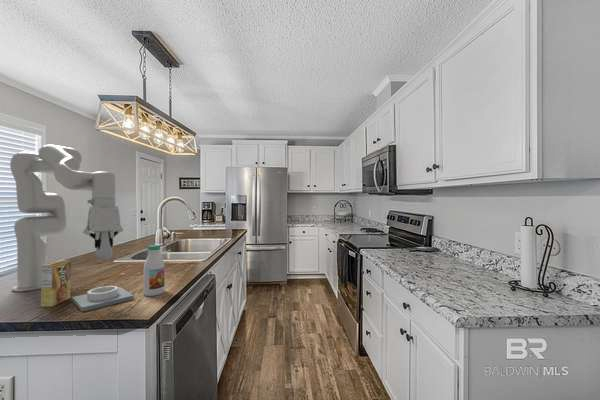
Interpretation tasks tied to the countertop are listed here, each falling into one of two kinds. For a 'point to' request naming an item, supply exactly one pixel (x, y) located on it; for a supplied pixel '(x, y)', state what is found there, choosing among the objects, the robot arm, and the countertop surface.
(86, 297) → the collar plate
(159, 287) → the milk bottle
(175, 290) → the countertop surface
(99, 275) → the countertop surface
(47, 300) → the candy box
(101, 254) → the grey ball-topped peg
